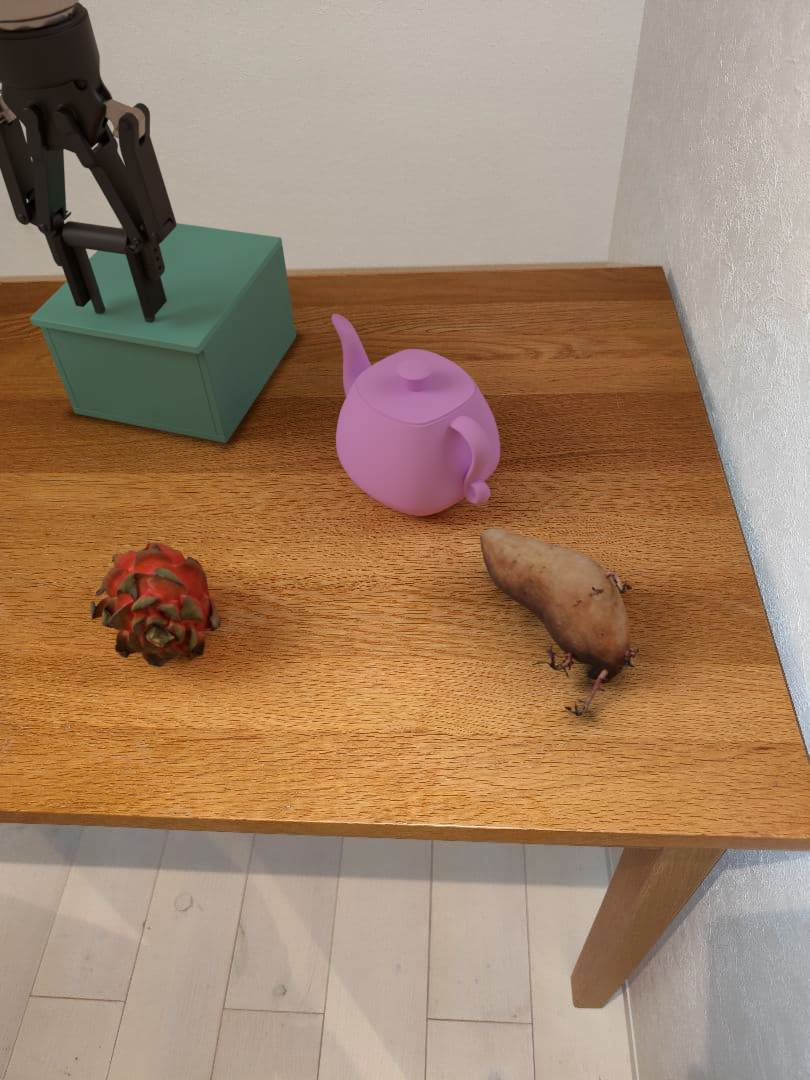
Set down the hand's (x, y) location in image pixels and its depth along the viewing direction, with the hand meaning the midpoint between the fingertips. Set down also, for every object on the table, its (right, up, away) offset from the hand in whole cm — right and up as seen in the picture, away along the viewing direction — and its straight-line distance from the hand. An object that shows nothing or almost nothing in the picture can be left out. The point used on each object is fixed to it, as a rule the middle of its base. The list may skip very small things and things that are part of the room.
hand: (121, 303), depth 78 cm
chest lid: (+2, +3, +6) cm, 7 cm away
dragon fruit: (+6, -28, -8) cm, 29 cm away
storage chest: (+3, -4, +14) cm, 15 cm away
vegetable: (+35, -28, -9) cm, 46 cm away
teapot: (+25, -14, +4) cm, 29 cm away
